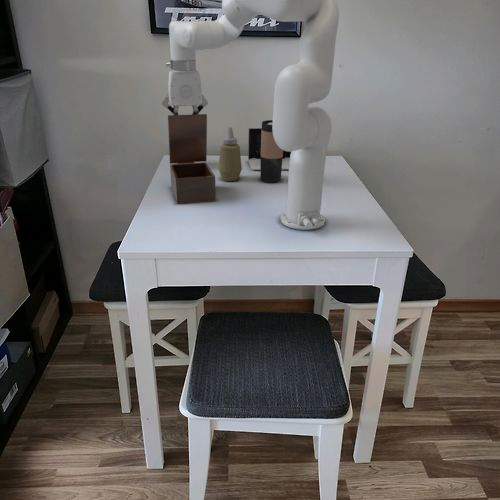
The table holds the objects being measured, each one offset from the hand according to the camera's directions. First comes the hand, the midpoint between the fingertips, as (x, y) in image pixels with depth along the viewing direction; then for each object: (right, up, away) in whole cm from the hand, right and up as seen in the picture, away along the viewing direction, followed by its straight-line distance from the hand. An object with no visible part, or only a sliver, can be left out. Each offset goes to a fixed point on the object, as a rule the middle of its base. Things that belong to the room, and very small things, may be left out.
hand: (186, 126), depth 151 cm
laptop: (+29, -7, +30) cm, 43 cm away
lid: (+1, -5, -1) cm, 5 cm away
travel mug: (+28, -15, +16) cm, 35 cm away
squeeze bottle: (+13, -15, +15) cm, 25 cm away
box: (+2, -22, +1) cm, 22 cm away
